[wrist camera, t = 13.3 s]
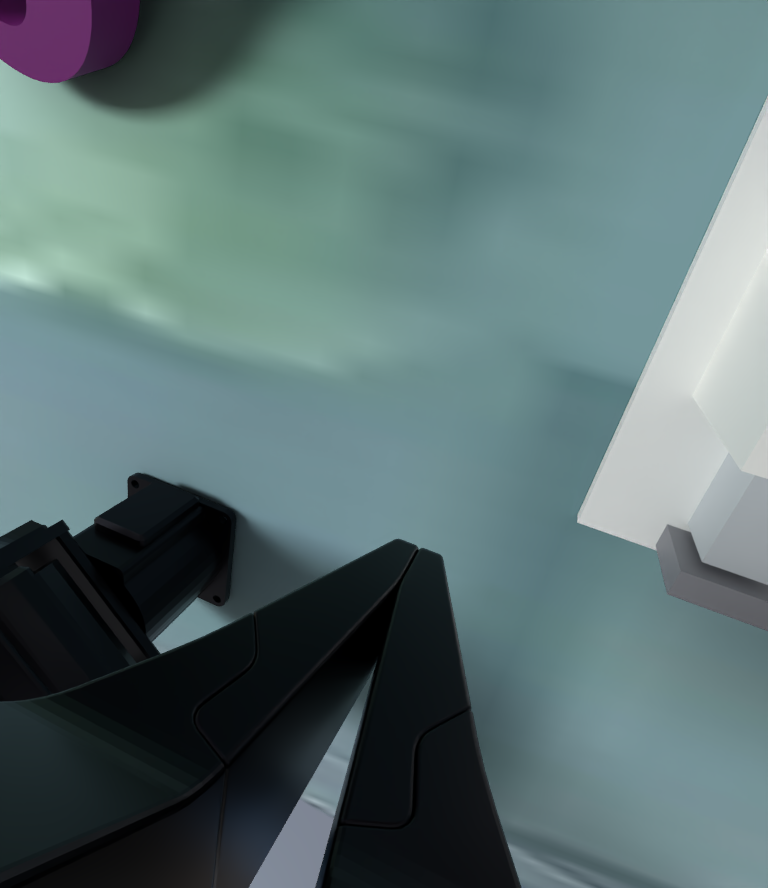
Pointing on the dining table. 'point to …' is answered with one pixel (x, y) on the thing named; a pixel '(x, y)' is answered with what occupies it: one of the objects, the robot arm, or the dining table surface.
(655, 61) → the dining table surface
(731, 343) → the grey slotted block
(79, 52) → the mounting bracket
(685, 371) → the light grey long base
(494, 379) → the dining table surface
